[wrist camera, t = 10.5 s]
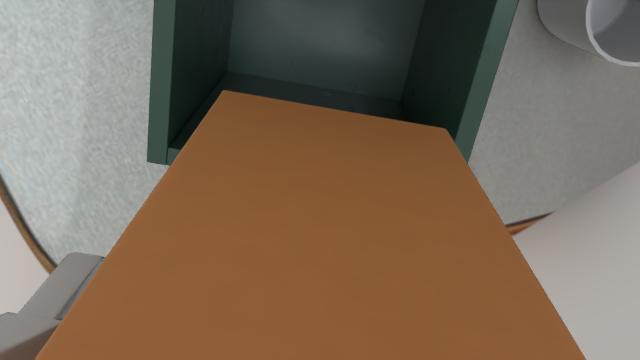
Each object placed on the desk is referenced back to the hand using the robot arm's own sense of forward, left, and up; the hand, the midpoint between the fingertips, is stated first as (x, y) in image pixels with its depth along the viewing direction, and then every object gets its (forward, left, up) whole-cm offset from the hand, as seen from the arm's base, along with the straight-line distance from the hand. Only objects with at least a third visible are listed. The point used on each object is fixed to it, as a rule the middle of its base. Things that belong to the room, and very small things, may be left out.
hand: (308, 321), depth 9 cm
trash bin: (0, -1, -36) cm, 36 cm away
